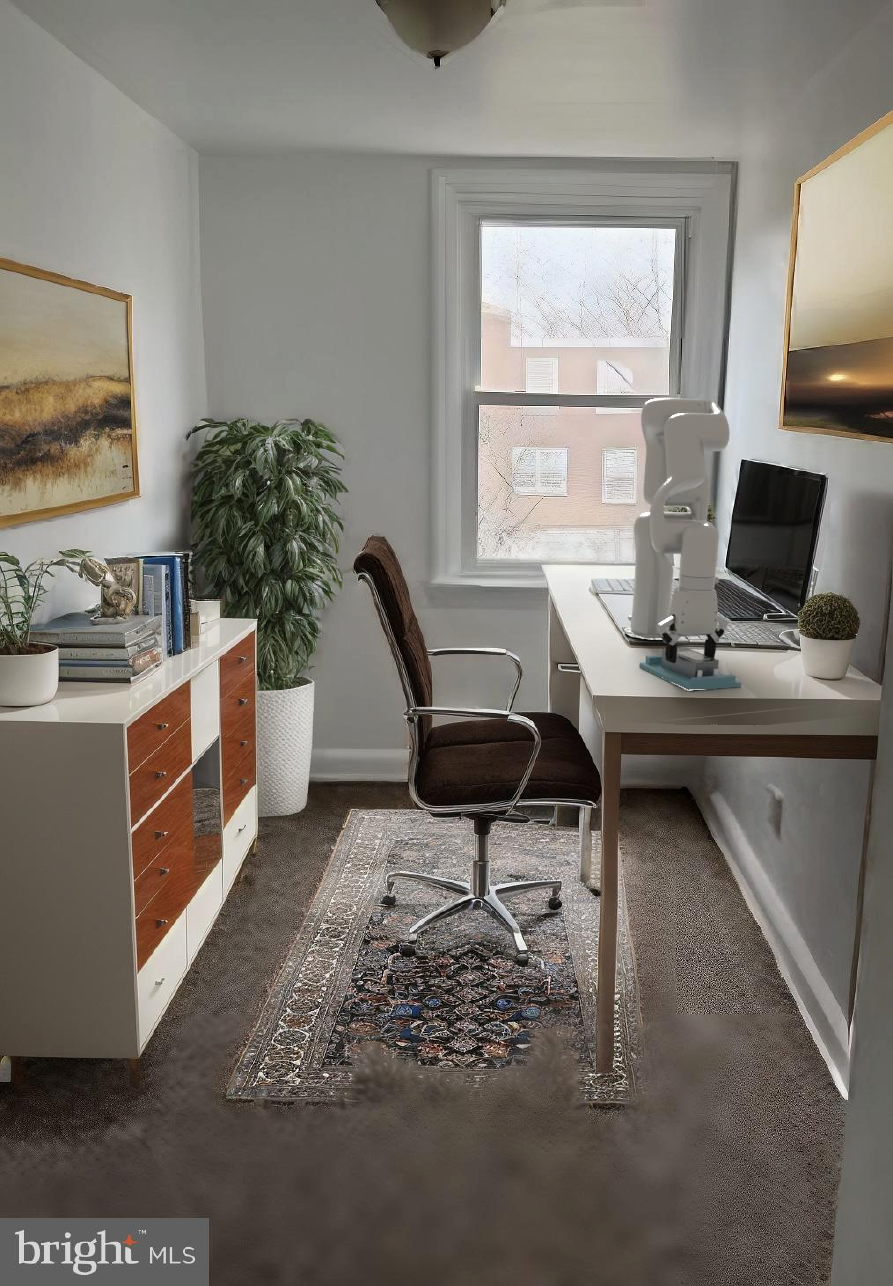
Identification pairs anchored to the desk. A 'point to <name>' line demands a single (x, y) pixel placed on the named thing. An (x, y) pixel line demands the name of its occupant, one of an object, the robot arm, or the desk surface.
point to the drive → (690, 663)
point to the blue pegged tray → (694, 683)
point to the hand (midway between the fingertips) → (689, 660)
